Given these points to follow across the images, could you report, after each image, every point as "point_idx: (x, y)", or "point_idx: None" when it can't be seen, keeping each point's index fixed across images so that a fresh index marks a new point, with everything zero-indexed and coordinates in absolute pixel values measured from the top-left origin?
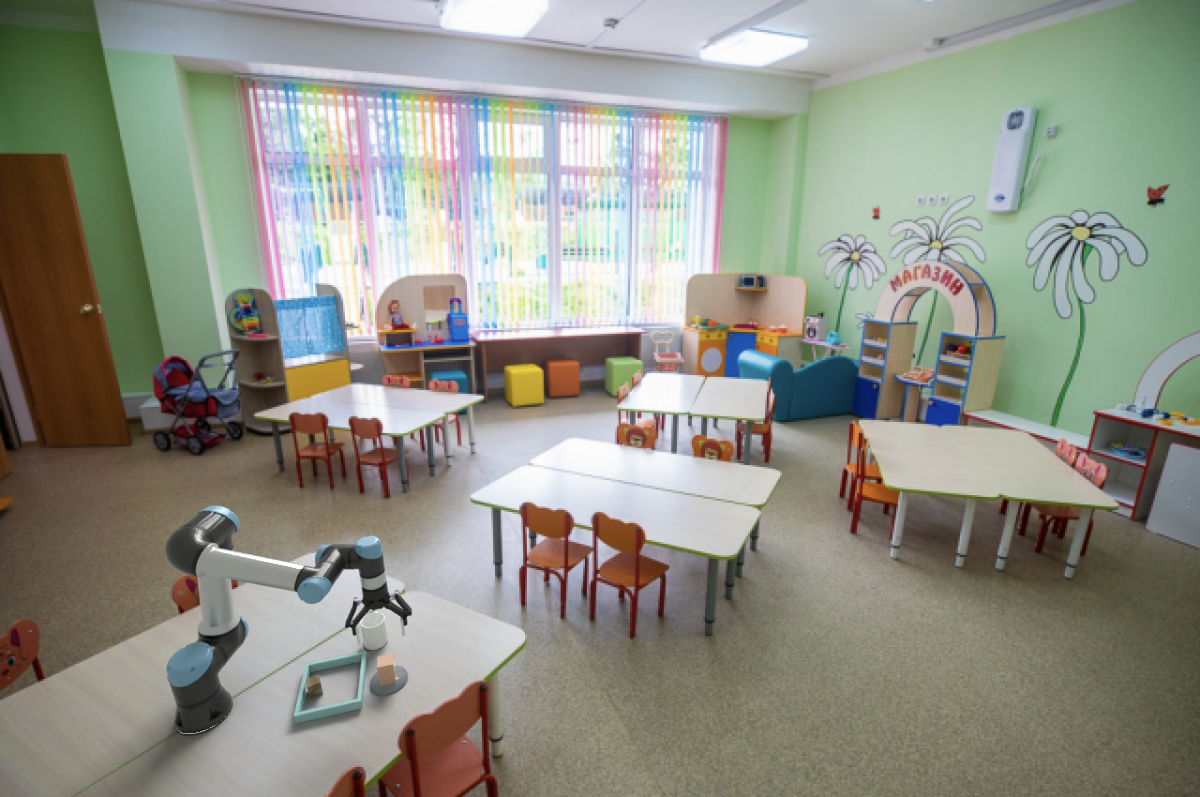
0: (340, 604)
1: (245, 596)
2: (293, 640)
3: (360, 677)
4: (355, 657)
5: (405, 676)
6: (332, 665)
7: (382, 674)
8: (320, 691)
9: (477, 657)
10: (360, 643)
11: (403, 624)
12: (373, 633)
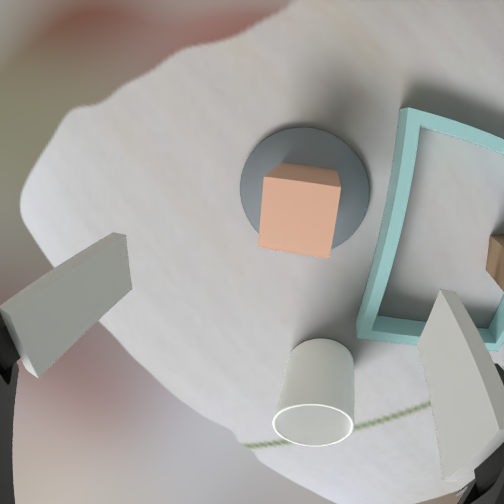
0: (362, 463)
1: (465, 485)
2: None
3: (398, 227)
4: (390, 328)
5: (247, 180)
6: None
7: (321, 176)
8: (499, 239)
9: (69, 184)
10: (440, 296)
11: (41, 281)
12: (322, 383)
